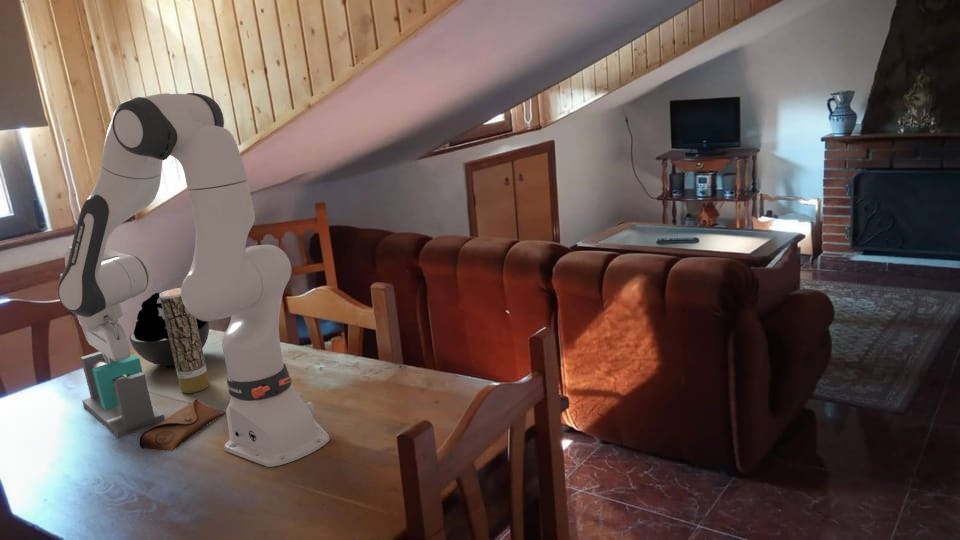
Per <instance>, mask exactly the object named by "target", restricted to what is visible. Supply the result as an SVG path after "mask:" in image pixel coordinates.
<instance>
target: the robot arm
mask: <svg viewBox="0 0 960 540" xmlns="http://www.w3.org/2000/svg"><path fill="white" fill-rule="evenodd" d="M234 137H235V136H234V135H233V134H232V133H231V132H230V130H228V129H227V128H225V119H224V114H223V110H222V109H221V107H220V106H219V104H218V103H217V102H216V101H215V100H214V99H213V98H212V97H210V96H208V95H206V94H202V93H197V92H187V93H166V92H165V93H164V92H163V93H156V94H152V95H147V96H143V97H142V96H137V97H133V98H130V99H127V100H125V101H123V102H121V103H120V104H118V105H117V106H116V108H115V109H114V112H113V114H112V118H111V122H110V123H109V126H108V128H107V132H106V136H105V140H104V143H103V149H102V154H101V163H100V169H99V174H98V177H97V180H96V183H95V184H94V187H93V189H92V191H91V193H90V195H89V196H88V197H87V199H86V200H85V201H84V203H83V204H82V207H81V209H80V212H79V215H78V219H77V224H76V227H75V232H74V235H73V239H72V245H71V246H69V247H68V248H67V249H66V250H65V251H64V263H65V264H64V265H65V269H64V270H63V273H62V274H61V276H60V279H59V282H58V285H57V286H58V288H57V293H58V298H59V302H60V304H62V306H63V307H64V308H65V309H66V310H67V311H69V312H71V313H72V314H74V315H75V317H76V318H77V320H78V322H79V325H80V326H81V329H82V332H83V334H84V336H85V340H86V341H87V342H88V344H89V346H91V347H93V348H94V349H96V350H97V351H98V352H99V351H100V352H102V355H103V357H104V359H105V361H106V364H109V363H112V362H115V361H120V360H123V359H126V358H129V357H131V349H130V345H129V342H128V341H129V340H128V339H127V335H126V332H125V329H124V327H123V326H122V325H121V324H120V323H119V319H121V318H122V316H123V313H124V312H123V309H122V306H121V305H122V304H121V303H123V302H125V301H127V300H130V299H132V298H135V297H136V296H139V295H140V294H143V293H144V292H145V291H146V289H147V288H148V286H149V278H150V277H149V273H148V269H147V266H146V265H145V263H144V262H143V261H142V260H141V259H140V258H139V257H137V256H135V255H133V254H130V253H127V254H125V253H121V252H118V251H116V250H114V249H111V248H110V247H108V246H107V243H108V240H109V238H110V236H111V235H112V233H113V232H114V231H115V230H116V229H117V228H118V227H119V226H121V224H123V223H125V222H126V221H127V220H129V219H130V218H131V217H133V216H134V215H137V214H138V213H141V212H142V211H143V210H145V209H146V208H148V207H149V206H150V205H151V204H152V203H153V202H154V201H155V198H156V196H157V195H158V192H159V188H160V185H161V177H162V170H163V161H165V160H167V159H168V158H169V157H170V156H171V157H173V158H175V159H176V160H177V161H178V162H179V163H180V165H181V166H182V169H183V173H184V178H185V184H186V187H187V192H188V195H189V200H190V206H191V211H192V216H193V220H194V221H193V222H194V227H195V228H194V229H195V245H194V250H193V251H194V253H193V259H192V262H191V265H190V269H189V271H188V273H187V275H186V276H185V278H184V280H183V282H182V283H181V287H180V288H181V297H182V301H183V304H184V306H185V307H186V309H187V310H188V312H189V313H190V314H191V315H193V316H194V317H195V318H197V319H199V320H202V321H209V322H212V321H217V320H222V319H226V318H227V319H228V318H229V317H230V322H229V324H228V326H227V329H226V330H225V332H224V334H223V336H222V341H221V345H222V351H223V356H224V361H225V366H226V371H227V376H226V381H227V382H226V386H227V389H228V392H229V395H230V400H229V403H228V405H227V407H226V409H225V412H226V413H225V414H226V420H227V421H226V422H227V428H228V436H229V440H228V441H226V443H225V444H224V451H225V452H227V453H230V454H233V455H235V456H238V457H241V458H244V459H246V460H249V461H251V462H254V463H256V464H259V465H262V466H264V467H267V468H268V467H269V468H272V467H278V466H282V465H286V464H287V463H288V464H289V463H292V462H294V461H297V460H299V459H301V458H304V457H306V456H308V455H310V454H312V453H314V452H317V450H319V449H321V448H322V447H323V446H325V445H326V444H327V443H328V442H329V441H330V440H331V438H330V435H329V434H328V432H327V431H326V430H325V429H324V428H323V427H322V426H321V425H320V424H319V423H318V422H317V421H316V420H315V419H314V416H313V413H315V407H314V406H315V405H314V404H313V402H312V401H309V402H305V400H303V394H302V392H298V391H297V390H296V388H295V387H294V386H293V383H292V379H291V375H290V371H289V370H288V367H287V366H286V364H285V363H284V359H283V353H282V347H281V340H280V330H279V329H280V327H279V323H280V313H281V306H282V300H283V295H284V291H285V288H286V287H287V284H288V282H289V280H290V278H291V275H292V264H291V260H290V258H289V257H288V255H287V254H286V252H284V250H282V248H280V247H278V246H276V245H274V244H258V245H251V246H246V245H247V239H248V236H249V232H250V231H251V229H252V228H253V225H254V223H255V219H256V214H255V209H254V204H253V200H252V199H253V198H252V195H251V190H250V185H249V180H248V176H247V172H246V168H245V165H244V161H243V157H242V155H241V153H240V148H239V147H238V144H237V141H236V140H235V138H234Z"/></svg>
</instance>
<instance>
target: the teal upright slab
mask: <svg viewBox="0 0 960 540" xmlns="http://www.w3.org/2000/svg"><path fill="white" fill-rule="evenodd" d="M92 371H93V374H94V378H95V382H96V386H97V390H98V394H99V398H100V402H101V406H102V407H103V408H104V409H105V410H108V409H111V408H113V407H116V406H119V404H118V400H117V396H116V392H115V389H114V385H113V381H112V379H113V378H116V377H120V376H125V377H128V376H131V375H134V374H137V373H140V372H142V373H143V369H142V364H141V359H140V357H138V356H137V355H135V354H134V355H130V357H129V358H126V359H123V360H120V361H115V362H112V363H109V364H105V365H102V366H99V367H96V368H93V369H92ZM143 374H144V373H143Z"/></svg>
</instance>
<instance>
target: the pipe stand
mask: <svg viewBox="0 0 960 540" xmlns="http://www.w3.org/2000/svg"><path fill="white" fill-rule="evenodd" d="M80 360H81V364H82V369H83V373H84V376H85V379H86V383H87V388H88V392H89V396H90V397H88V398H84V399H82V400H81V403H82V405H83V407H84V408H85V409H86V410H87V411H88V412H89V413H91V414H92V415H93V416H94V417H95V418H96V419H97V420H99V422H101V424H103V426H105V427H106V428H107V429H108V430H110V432H111V433H112V434H113V435H115V436H116V437H117V438H118V439H120V438H123V437H124V436H125V437H126V436H128V435H131V434H133V433H135V432H138V431H141V430H143V429H146V428H150V427H151V426H152V427H153V426H154V425H158V424H159V422H160V423H161V422H162V421H164V420H165V419H166V418H165V414H164V413H163V412H161V411H160V410H158V409H157V408H155V407H154V406H153V405H152V401H151V397H150V392H149V387H148V384H147V379H146V376H145V373H142V372H143V371H142V372H140V373H137V374H134V375H131V376H128V377H127V376H126V375H123V376H120V377H116V378H113V379H112V381H113V385H114V389H115V392H116V396H117V400H118V404H119V406H116V407H113V408H111V409H108V410H105V409H104V408H103V407H102V406H101V402H100V398H99V394H98V390H97V386H96V382H95V378H94V374H93V371H92V369H93V368H96V367H99V366H102V365H105V364H106V361H105V359H104V357H103V355H102V352H100V351H99V350H98V351H97V352H93V353H90V354H86V355H83V356H81V357H80Z"/></svg>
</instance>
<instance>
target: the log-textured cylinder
mask: <svg viewBox="0 0 960 540" xmlns="http://www.w3.org/2000/svg"><path fill="white" fill-rule="evenodd" d="M159 300H160V303H161V304H162V313H163V316H164V318H163V319H165V322H166V327H167V331H168V336H169V340H170V345H171V349H172V354H173V358H174V363H175V365H174V367H175V371H176V376H177V380H178V384H179V389H180V391H181V392H182V393H184V394H192V393H193V394H194V393H199V392H201V391H204V390H205V389H207V388H208V387H209V385H210V380H209V374H208V371H207V370H208V369H207V365H206V360H205V355H204V350H203V348H202V345H201V340H200V336H199V331H198V326H197V321H196V318H195V317H194V316H193V315H191V314H190V313H189V312H188V310H187V309H186V307H185V306H184V304H183V301H182V297H181V287H177V288H176V287H175V288H172V289H168V290H165V291H163V292H161V293H160V297H159Z"/></svg>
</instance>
